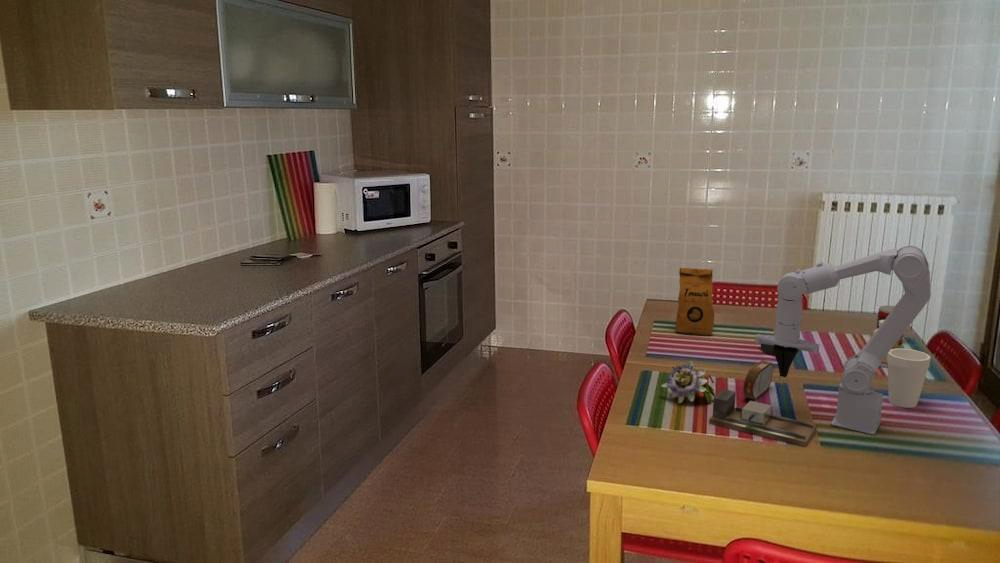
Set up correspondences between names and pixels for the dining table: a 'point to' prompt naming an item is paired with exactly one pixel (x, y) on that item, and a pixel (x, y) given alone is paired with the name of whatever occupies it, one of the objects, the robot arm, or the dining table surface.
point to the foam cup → (906, 376)
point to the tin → (758, 379)
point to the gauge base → (772, 429)
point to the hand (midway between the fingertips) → (783, 375)
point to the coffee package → (695, 302)
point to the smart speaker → (767, 348)
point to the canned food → (883, 314)
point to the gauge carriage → (755, 412)
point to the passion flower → (688, 383)
